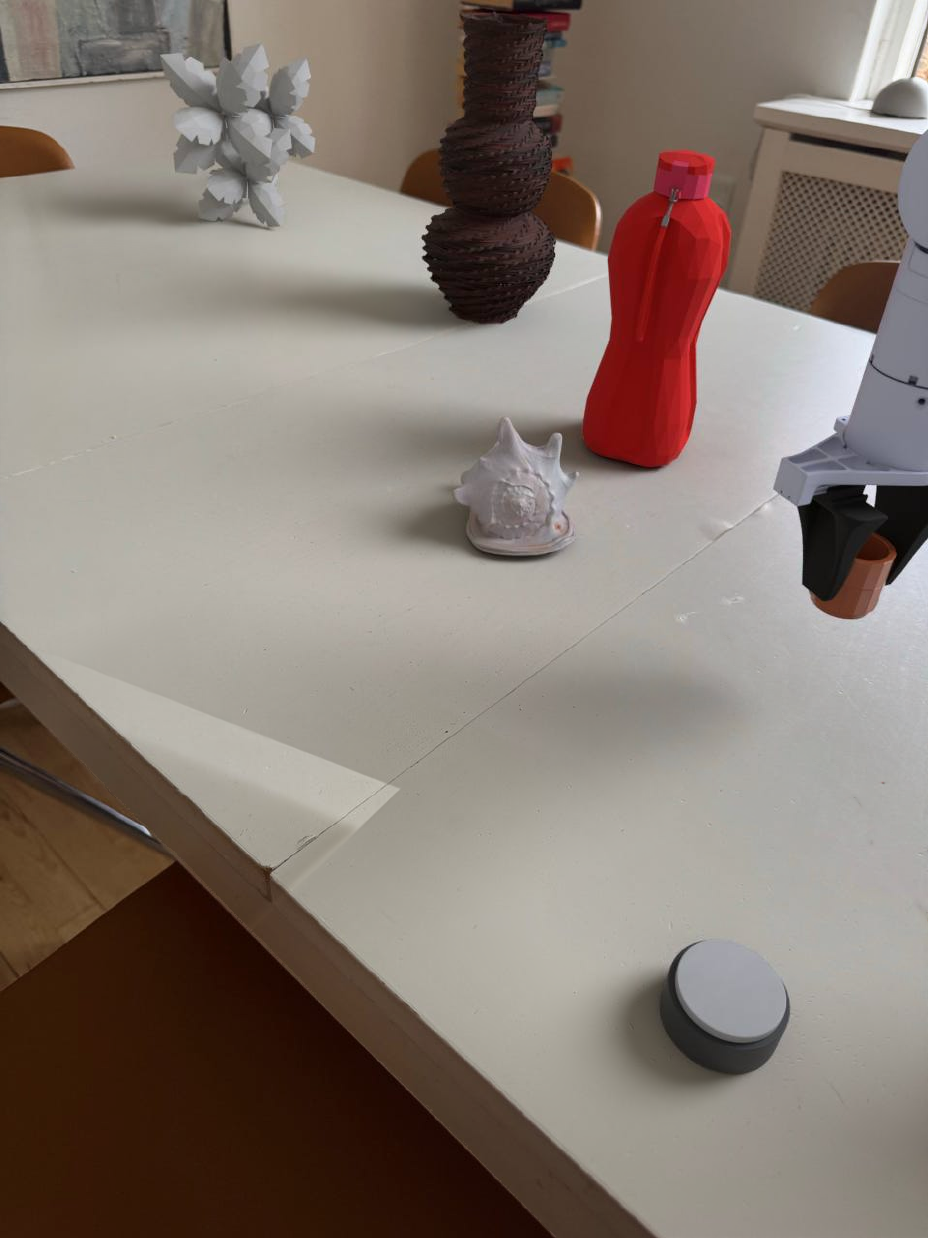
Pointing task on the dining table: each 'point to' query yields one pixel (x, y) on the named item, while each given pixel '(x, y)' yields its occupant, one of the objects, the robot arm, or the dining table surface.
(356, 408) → the dining table surface
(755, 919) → the dining table surface
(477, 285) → the vase
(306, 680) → the dining table surface
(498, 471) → the seashell
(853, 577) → the cup
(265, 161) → the flower bouquet
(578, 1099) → the dining table surface
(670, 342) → the water bottle
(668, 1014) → the push button
